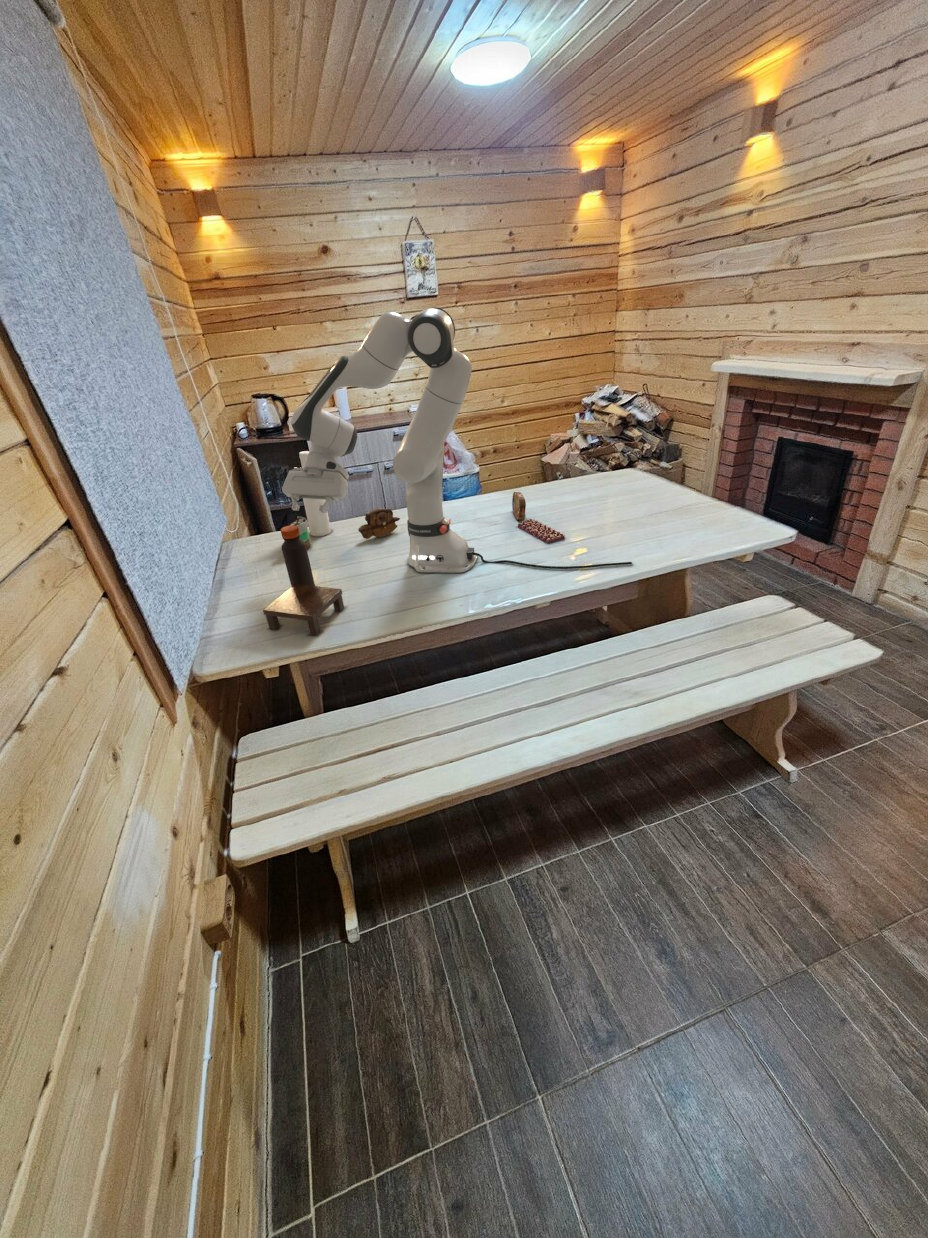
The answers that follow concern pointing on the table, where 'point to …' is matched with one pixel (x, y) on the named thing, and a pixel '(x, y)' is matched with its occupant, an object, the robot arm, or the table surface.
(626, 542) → the table surface
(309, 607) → the stand
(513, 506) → the tin
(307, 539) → the food container
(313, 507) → the bottle
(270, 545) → the table surface
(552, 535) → the chocolate bar
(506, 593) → the table surface
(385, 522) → the wooden carving
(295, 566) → the vinegar
